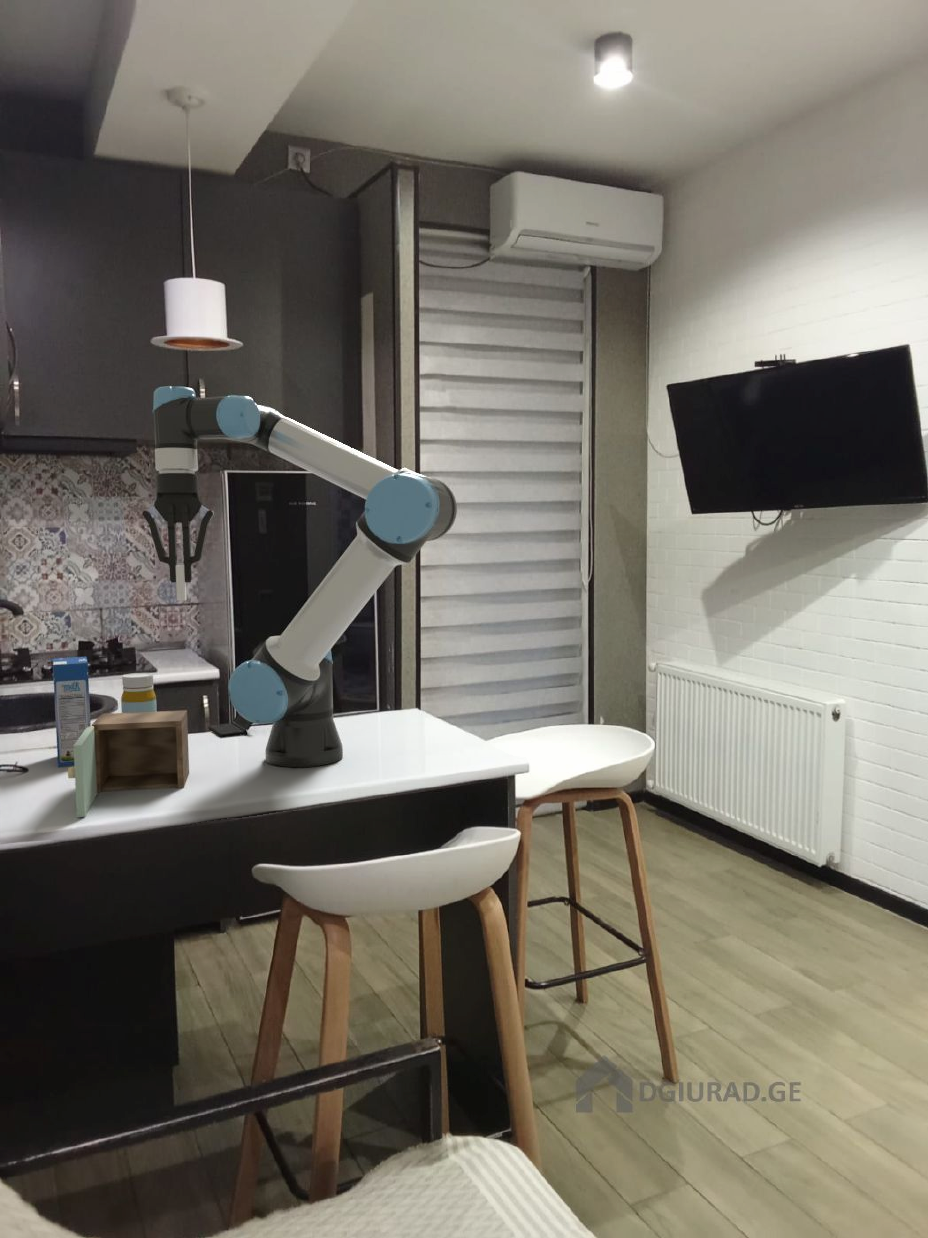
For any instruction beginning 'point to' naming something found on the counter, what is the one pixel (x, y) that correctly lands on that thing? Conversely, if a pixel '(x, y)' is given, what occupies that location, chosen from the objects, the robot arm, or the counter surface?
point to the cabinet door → (84, 771)
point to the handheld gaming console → (232, 727)
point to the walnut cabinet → (141, 750)
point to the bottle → (138, 693)
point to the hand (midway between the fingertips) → (181, 600)
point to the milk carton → (70, 705)
